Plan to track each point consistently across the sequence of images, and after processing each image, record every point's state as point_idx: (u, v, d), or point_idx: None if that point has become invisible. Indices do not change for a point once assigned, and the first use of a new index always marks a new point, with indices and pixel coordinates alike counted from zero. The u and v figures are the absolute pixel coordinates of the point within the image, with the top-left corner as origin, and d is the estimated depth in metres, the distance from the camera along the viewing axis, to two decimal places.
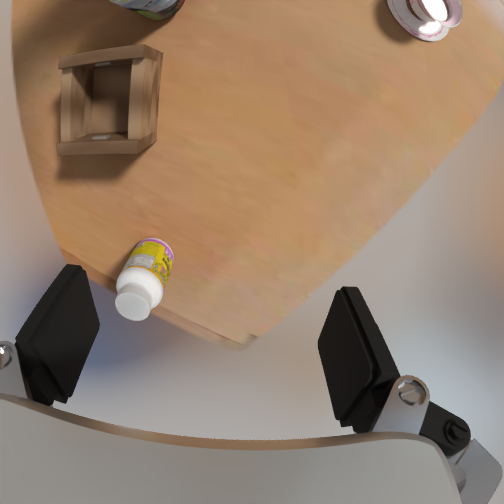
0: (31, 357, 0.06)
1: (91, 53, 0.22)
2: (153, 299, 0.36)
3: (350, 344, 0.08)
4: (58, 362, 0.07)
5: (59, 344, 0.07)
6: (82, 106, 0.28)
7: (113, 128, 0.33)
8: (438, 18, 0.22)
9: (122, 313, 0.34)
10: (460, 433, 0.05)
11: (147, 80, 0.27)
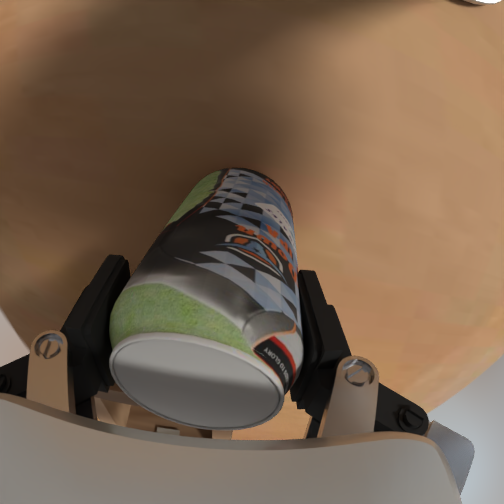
0: (80, 345, 0.07)
1: None
2: None
3: None
4: (105, 350, 0.08)
5: (106, 332, 0.08)
6: None
7: None
8: None
9: None
10: (414, 420, 0.06)
11: None
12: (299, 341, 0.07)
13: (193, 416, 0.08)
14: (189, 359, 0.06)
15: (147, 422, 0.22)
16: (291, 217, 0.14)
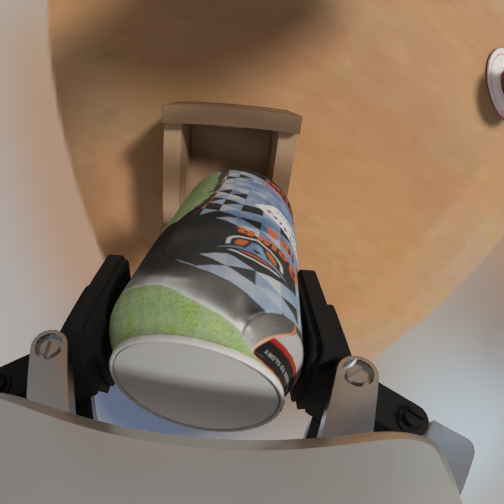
0: (80, 345, 0.07)
1: (220, 111, 0.20)
2: None
3: None
4: (105, 350, 0.08)
5: (107, 332, 0.08)
6: (185, 172, 0.27)
7: None
8: None
9: None
10: (414, 420, 0.06)
11: None
12: (299, 343, 0.07)
13: (193, 417, 0.08)
14: (189, 362, 0.06)
15: None
16: (291, 218, 0.14)
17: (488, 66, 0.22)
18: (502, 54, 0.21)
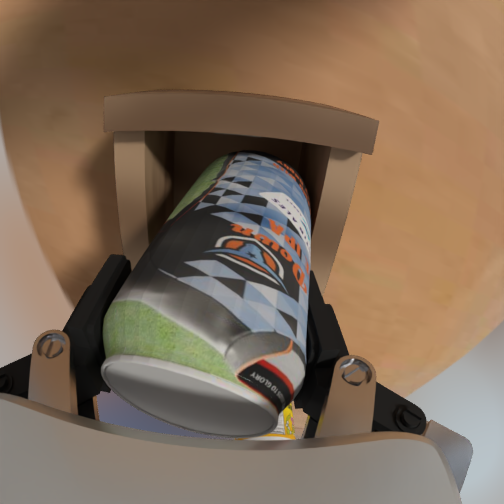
0: (83, 345, 0.07)
1: (217, 103, 0.10)
2: None
3: None
4: None
5: None
6: (163, 208, 0.16)
7: None
8: None
9: None
10: (412, 420, 0.06)
11: None
12: (296, 359, 0.07)
13: (192, 423, 0.08)
14: (171, 382, 0.06)
15: None
16: (306, 202, 0.13)
17: None
18: None
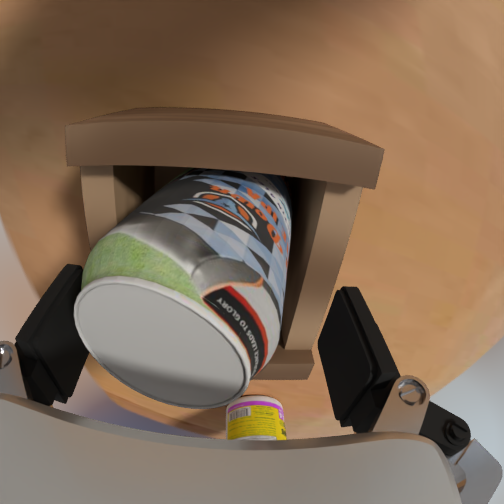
0: (31, 357, 0.06)
1: (191, 131, 0.08)
2: None
3: (350, 344, 0.08)
4: (58, 362, 0.07)
5: (59, 344, 0.07)
6: None
7: None
8: None
9: None
10: (460, 433, 0.05)
11: None
12: (267, 298, 0.07)
13: (164, 389, 0.08)
14: (138, 309, 0.06)
15: None
16: (287, 191, 0.13)
17: None
18: None
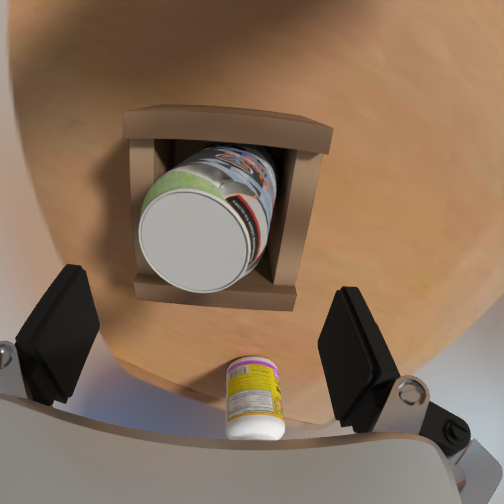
0: (31, 357, 0.06)
1: (209, 118, 0.13)
2: None
3: (350, 344, 0.08)
4: (58, 362, 0.07)
5: (59, 344, 0.07)
6: None
7: None
8: None
9: None
10: (460, 433, 0.05)
11: None
12: (259, 206, 0.12)
13: (193, 277, 0.13)
14: (188, 207, 0.11)
15: None
16: (274, 163, 0.18)
17: None
18: None
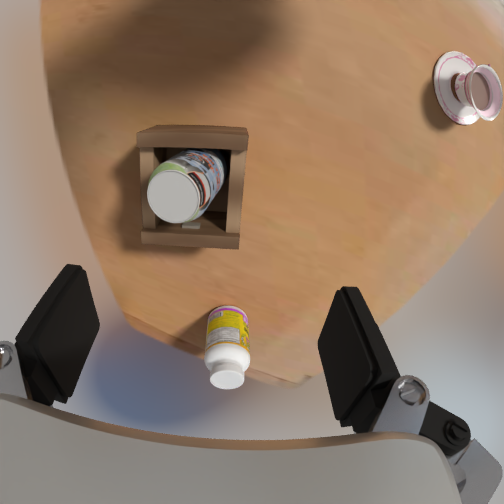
0: (31, 357, 0.06)
1: (181, 135, 0.26)
2: (243, 368, 0.39)
3: (350, 344, 0.08)
4: (58, 362, 0.07)
5: (59, 344, 0.07)
6: None
7: None
8: (480, 107, 0.27)
9: (216, 385, 0.37)
10: (460, 433, 0.05)
11: None
12: (204, 177, 0.24)
13: (173, 215, 0.25)
14: (170, 178, 0.23)
15: None
16: (224, 158, 0.31)
17: (435, 72, 0.28)
18: (453, 57, 0.27)
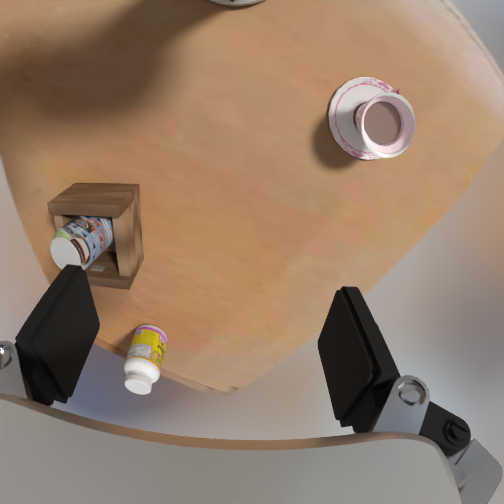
0: (31, 357, 0.06)
1: (74, 206, 0.31)
2: (153, 379, 0.45)
3: (350, 344, 0.08)
4: (58, 362, 0.07)
5: (59, 344, 0.07)
6: None
7: (106, 248, 0.42)
8: (384, 141, 0.32)
9: (130, 389, 0.43)
10: (460, 433, 0.05)
11: (128, 227, 0.35)
12: (83, 241, 0.29)
13: None
14: (61, 243, 0.28)
15: None
16: None
17: (330, 106, 0.33)
18: (359, 84, 0.32)
